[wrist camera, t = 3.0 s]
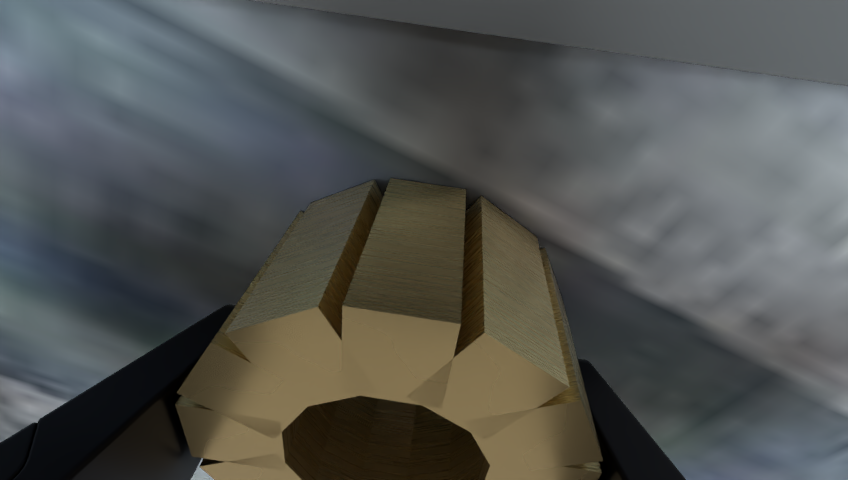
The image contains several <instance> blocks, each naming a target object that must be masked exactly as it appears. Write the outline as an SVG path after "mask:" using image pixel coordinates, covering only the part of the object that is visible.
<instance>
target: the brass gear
mask: <svg viewBox="0 0 848 480" xmlns="http://www.w3.org/2000/svg"><path fill="white" fill-rule="evenodd" d="M465 205H466V189H460V188H454V187H447V186H440V185H434V184H427V183H420V182H413V181H407V180H400V179H393V178H390V181H389V183H388V186H387V189H386V191H385V194H384V197H383V195H382V193H381V191H380V189H379V187H378V185H377V183H376V182H375V180H372V181H369V182H367V183H364V184H361V185H358V186H356V187H353V188H350V189H347V190H345V191H342V192H339V193H337V194H334V195H331V196H328V197H326V198H323V199H320V200H317V201H315V202H312V203H310V205H309V206H308V208H307V209H306V211H305V212H304V213H303V212H301V211H300V212H299V214H298V215H297V217H296V218H295V219H294V221H293V222H292V224H291V225H290V227H289V228H288V230H287V231H286V233H285V234H284V236H283V237H282V239H281V240H280V241H279V243H278V244H277V246H276V247H275V249H274V250H273V252H272V253H271V255H270V256H269V258H268V259H267V261H266V262H265V264H264V265H263V266H262V268H261V269H260V271H259V272H258V274H257V275H256V277H255V278H254V280H253V281H252V283H251V284H250V286H249V287H248V289H247V290H246V291H245V293H244V294H243V296H242V297H241V299H240V300H239V302H238V303H237V305H236V306H235V308H234V309H233V311H232V312H231V314H230V315H229V316H228V318H227V319H226V321H225V322H224V324H223V325H222V327H221V328H220V330H219V331H218V333H217V334H216V336H215V337H214V339H213V340H212V341H211V343H210V344H209V346H208V347H207V349H206V350H205V352H204V353H203V355H202V356H201V358H200V359H199V361H198V362H197V364H196V365H195V366H194V368H193V369H192V371H191V372H190V374H189V375H188V377H187V378H186V380H185V381H184V383H183V384H182V386H181V387H180V389H179V390H178V391H177V393H178V394H180V395H181V397H180V398H179V400H178V401H177V403H176V404H175V405H176V409H177V412H178V415H179V418H180V421H181V424H182V427H183V430H184V434H185V437H186V440H187V443H188V446H189V449H190V452H191V455H192V456H193V457H199V458H204V459H203V461H202V463H201V465H200V466H199V467H200V468H202V469H203V470H204V471H205V472H206V473H207V474H209V475H210V476H211V477H212V478H213V479H214V480H598V478H599V477H600V475H601V473H602V471H601V467H600V463H599V462H600V461H603V458H602V454H601V450H600V446H599V442H598V438H597V434H596V430H595V426H594V422H593V418H592V414H591V410H590V406H589V402H588V398H587V394H586V390H585V386H584V382H583V378H582V374H581V371H580V367H579V363H578V359H577V355H576V351H575V347H574V343H573V339H572V335H571V331H570V327H569V323H568V319H567V315H566V311H565V307H564V303H563V299H562V297H561V294H560V291H559V288H558V285H557V282H556V279H555V276H554V273H553V270H552V267H551V264H550V261H549V258H548V255H547V252H546V249H545V248H543V249H539V244H538V240H537V237H536V236H535V235H533V234H532V233H531V232H529V231H528V230H527V229H525V228H524V227H523V226H521V225H520V224H519V223H517V222H516V221H515V220H513V219H512V218H511V217H509V216H508V215H507V214H505V213H504V212H503V211H501V210H500V209H499V208H497V207H496V206H495V205H493V204H492V203H491V202H489V201H488V200H486V199H485V198H484V197H482V196H480V197H479V198H478V199H477V201H476V202H475V203H474V204H473V205H472V206H471V207H470V208H469V209H468V210H467V211H466V212H465Z"/></svg>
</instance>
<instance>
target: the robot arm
mask: <svg viewBox="0 0 848 480" xmlns="http://www.w3.org/2000/svg"><path fill="white" fill-rule="evenodd" d="M235 306H236V305H225V306H223V307H221V308H220V309H218V310H217V311H215V312H213V313H212V314H210V315H208V316H207V317H205V318H204V319H202V320H200V321H199V322H197V323H195V324H194V325H192V326H190V327H189V328H187V329H186V330H184V331H182V332H181V333H179V334H177V335H176V336H174V337H173V338H171V339H169V340H168V341H166V342H164V343H163V344H161V345H160V346H158V347H156V348H155V349H153V350H151V351H150V352H148V353H146V354H145V355H143V356H142V357H140V358H138V359H137V360H135V361H133V362H132V363H130V364H129V365H127V366H125V367H124V368H122V369H120V370H119V371H117V372H116V373H114V374H112V375H111V376H109V377H107V378H106V379H104V380H102V381H101V382H99V383H98V384H96V385H94V386H93V387H91V388H89V389H88V390H86V391H85V392H83V393H81V394H80V395H78V396H76V397H75V398H73V399H71V400H70V401H68V402H67V403H65V404H63V405H62V406H60V407H58V408H57V409H55V410H54V411H52V412H50V413H49V414H47V415H45V416H44V417H42V418H41V419H39V421H38V423H32V424H30V425H29V426H27V427H26V428H24V429H22V430H21V431H19V432H17V433H16V434H14V435H12V436H11V437H9V438H8V439H6V440H4V441H3V442H1V443H0V480H191V478H192V476H193V474H194V472H195V470H196V468H197V466H198V464H199V462H200V460H201V458H199V457H193V456H192V455H191V452H190V449H189V446H188V443H187V440H186V437H185V434H184V430H183V427H182V424H181V421H180V418H179V415H178V412H177V409H176V405H175V404H176V403H177V401H178V400H179V398H180V397H181V395H180V394H178V393H177V391H178V390H179V389H180V387H181V386H182V384H183V383H184V381H185V380H186V378H187V377H188V375H189V374H190V372H191V371H192V369H193V368H194V366H195V365H196V364H197V362H198V361H199V359H200V358H201V356H202V355H203V353H204V352H205V350H206V349H207V347H208V346H209V344H210V343H211V341H212V340H213V339H214V337H215V336H216V334H217V333H218V331H219V330H220V328H221V327H222V325H223V324H224V322H225V321H226V319H227V318H228V316H229V315H230V314H231V312H232V311H233V309H234V308H235ZM578 363H579V367H580V371H581V374H582V378H583V382H584V386H585V390H586V394H587V398H588V402H589V406H590V410H591V414H592V418H593V422H594V426H595V430H596V434H597V438H598V442H599V446H600V450H601V454H602V458H603V461H600V462H599V463H600V467H601V471H602V473H601V475H600V477H599V478H598V480H686V479H685V478H684V476H683V475H682V474H681V473H680V472H679V470H678V469H677V468H676V467H675V465H674V464H673V463H672V462H671V461H670V459H669V458H668V457H667V456H666V455H665V453H664V452H663V451H662V450H661V448H660V447H659V446H658V445H657V444H656V442H655V441H654V440H653V439H652V437H651V436H650V435H649V434H648V433H647V431H646V430H645V429H644V428H643V426H642V425H641V424H640V423H639V422H638V420H637V419H636V418H635V417H634V415H633V414H632V413H631V412H630V411H629V409H628V408H627V407H626V406H625V405H624V403H623V402H622V401H621V400H620V398H619V397H618V396H617V395H616V394H615V392H614V391H613V390H612V389H611V387H610V386H609V385H608V384H607V383H606V381H605V380H604V379H603V378H602V376H601V375H600V374H599V373H598V372H597V370H596V369H595V368H594V367H593V366H592V364H591V363H590V362H588V361H587V360H582V359H578Z"/></svg>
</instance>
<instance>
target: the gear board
mask: <svg viewBox="0 0 848 480" xmlns="http://www.w3.org/2000/svg"><path fill="white" fill-rule="evenodd" d="M251 1H258V2H264V3H271V4H278V5H285V6H292V7H299V8H306V9H313V10H320V11H327V12H334V13H341V14H348V15H355V16H362V17H369V18H376V19H383V20H390V21H397V22H404V23H411V24H418V25H425V26H432V27H439V28H446V29H453V30H460V31H467V32H474V33H481V34H488V35H495V36H502V37H509V38H516V39H523V40H530V41H537V42H544V43H551V44H558V45H565V46H572V47H579V48H585V49H592V50H599V51H606V52H613V53H620V54H627V55H634V56H641V57H648V58H655V59H662V60H669V61H676V62H683V63H690V64H697V65H704V66H711V67H718V68H725V69H732V70H739V71H746V72H753V73H760V74H767V75H774V76H781V77H788V78H795V79H802V80H809V81H816V82H823V83H830V84H837V85H844V86H848V0H251Z"/></svg>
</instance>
